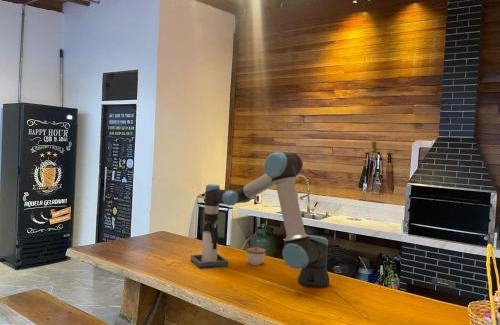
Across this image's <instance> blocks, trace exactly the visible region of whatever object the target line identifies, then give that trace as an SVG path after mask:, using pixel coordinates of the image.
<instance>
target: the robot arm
mask: <svg viewBox="0 0 500 325" xmlns="http://www.w3.org/2000/svg"><path fill="white" fill-rule="evenodd" d="M263 167H264V172H265V173H264V174H263V175H261V176H259V177H257V178H256V179H254V180H252V181H250V182H249V183H247V184H246V185H244V186H243V187H241V188H238V189H221V188H220V185H219V184H213V183H212V184H211V183H210V184H207V185H205V191H204V192H205V196H204V217H203V220H204V225H203V229H202V234H201V235H202V236H203V232H205V231H210V232H211V237H212V242H211V243H212V247H211V255H216V253H217V254H218V247H217V243H219V242H220V241H219V232H218V223H216V222H218V220H219V210H220V207H219V206H220V205H226V206H234V205H237V204H243V203H244V204H245V203H249V202H250V201H251V200H252V199H253V198H254V197H256V196H258V195H260V194H262V193H263V192H265V191H267V190H268V189H270V188H272V187H274V186H276V192H277V197H278V201H279V206H280V210H281V215H282V219H283V225H284V229H285V234H286V236H285V238H284V241H283V242H284V247H283V249H282V253H281V255H282V258H283V260H284V262H285V265H287V266H288V267H290V268H291V269H295V270H298V269H300V272H299V275H298V277H297V283H298V284H299V285H300V286H303V287H305V288H306V287H307V288H312V289H325V288H328V287H329V286H330V277H329V273H328V269H327V268H328V267H327V266H328V250H329V239H328V238H326V237H324V236H319V235H313V234H307V233H306V230H305V226H304V221H303V217H302V212H301V208H300V203H299V199H298V194H297V190H296V186H295V181H296V179H297V176H298V175H299V174H300V173H301V172H302V170H303V168H304V162H303V160H302V158H301V156H300V155H298V154H297V153H294V152H283V151H282V152H281V151H277V152H272V153H270V154H269V155H268V156H267V157H266V159H265V161H264V166H263Z"/></svg>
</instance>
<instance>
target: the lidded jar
mask: <svg viewBox="0 0 500 325" xmlns="http://www.w3.org/2000/svg"><path fill="white" fill-rule="evenodd" d="M245 251H246V255H245V256H246V260H247V262H248V263H249V264H250V265H252V266H260V265H261V264H262V263H263V262H264V260H265V257H266V249H264V248H261V247H258V246H254V247H248V248H246V249H245Z"/></svg>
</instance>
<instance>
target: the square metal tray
mask: <svg viewBox="0 0 500 325" xmlns="http://www.w3.org/2000/svg"><path fill="white" fill-rule="evenodd" d="M190 262H191V263H192V264H193V265H195V266H196V268H198V269H199V270H200V269H201V270H202V269H215V268H229V260H227V259H226V258H225V257H224V256H222V255H220V254H219V253H217V261H215V262H202V254H191V255H190Z"/></svg>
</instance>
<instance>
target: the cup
mask: <svg viewBox="0 0 500 325" xmlns="http://www.w3.org/2000/svg"><path fill="white" fill-rule="evenodd" d="M202 233H203V235H202V241H201V242H202V243H201V244H202V246H201V248H202V249H201V255H202V262H215V261H217V254H218V252H217V253H216V255H211V247H212V243H211V242H212V237H211V232H210V231H205V232H203V231H202ZM218 243H219V242H218ZM218 243H217V248H218V247H219V246H218Z"/></svg>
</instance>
